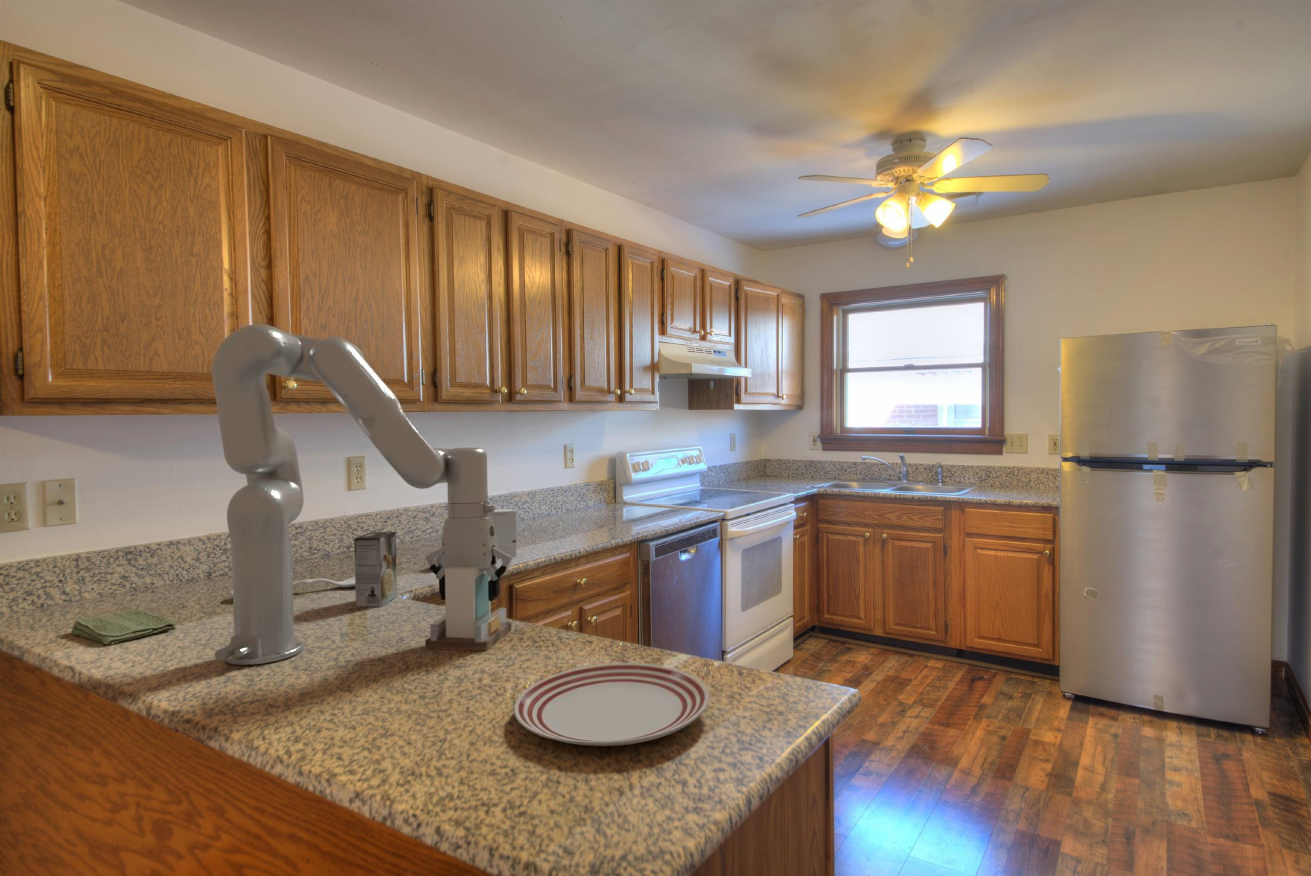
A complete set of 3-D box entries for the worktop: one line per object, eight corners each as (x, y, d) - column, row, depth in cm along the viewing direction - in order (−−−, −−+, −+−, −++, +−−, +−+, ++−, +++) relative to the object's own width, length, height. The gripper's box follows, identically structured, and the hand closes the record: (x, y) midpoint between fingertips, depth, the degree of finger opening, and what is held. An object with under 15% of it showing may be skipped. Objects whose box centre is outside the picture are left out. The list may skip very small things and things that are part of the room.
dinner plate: (542, 783, 80) (541, 755, 80) (497, 699, 106) (496, 677, 106) (746, 738, 91) (746, 713, 91) (661, 671, 117) (661, 652, 116)
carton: (491, 625, 139) (490, 560, 139) (474, 638, 131) (473, 569, 130) (464, 624, 140) (463, 560, 140) (446, 637, 131) (444, 568, 131)
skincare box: (492, 559, 216) (492, 511, 216) (485, 556, 221) (484, 509, 221) (517, 556, 221) (517, 509, 221) (510, 553, 226) (509, 507, 226)
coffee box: (371, 597, 169) (370, 531, 169) (397, 596, 169) (396, 531, 169) (354, 607, 160) (353, 537, 160) (382, 606, 160) (380, 537, 160)
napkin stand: (486, 650, 128) (486, 642, 128) (425, 648, 130) (425, 640, 130) (511, 629, 141) (511, 622, 141) (455, 627, 142) (455, 620, 142)
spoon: (375, 588, 179) (375, 575, 179) (230, 606, 163) (229, 591, 163) (370, 582, 187) (369, 569, 187) (231, 598, 171) (230, 584, 171)
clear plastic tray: (482, 642, 128) (482, 626, 128) (430, 640, 129) (430, 624, 129) (507, 622, 141) (507, 607, 141) (460, 620, 142) (459, 606, 142)
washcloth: (105, 649, 132) (105, 633, 132) (67, 636, 142) (67, 620, 142) (181, 631, 144) (180, 616, 144) (141, 620, 153) (141, 605, 153)
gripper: (517, 509, 137) (518, 595, 138) (434, 508, 140) (436, 593, 140) (503, 513, 130) (505, 604, 130) (416, 513, 132) (418, 602, 133)
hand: (469, 598), depth 135 cm, fingers open, 9 cm apart
